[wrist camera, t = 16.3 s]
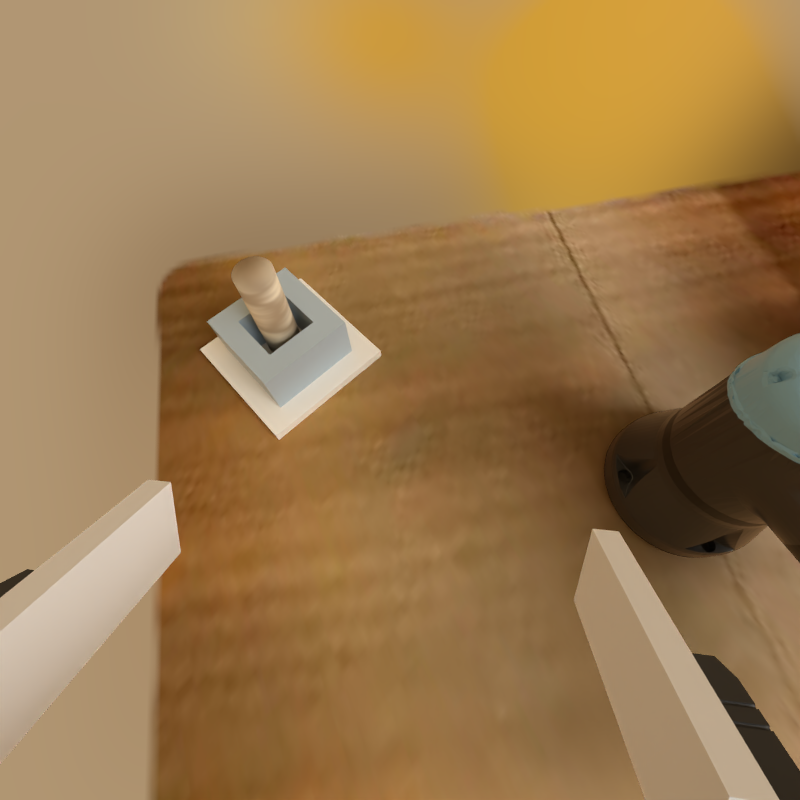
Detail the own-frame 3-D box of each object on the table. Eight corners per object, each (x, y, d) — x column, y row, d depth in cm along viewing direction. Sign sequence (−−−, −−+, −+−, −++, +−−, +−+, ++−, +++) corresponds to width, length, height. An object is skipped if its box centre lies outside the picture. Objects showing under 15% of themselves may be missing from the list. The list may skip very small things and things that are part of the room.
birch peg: (292, 331, 55) (257, 249, 42) (312, 350, 53) (282, 272, 41) (266, 350, 53) (222, 272, 41) (286, 370, 52) (247, 296, 40)
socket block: (302, 283, 59) (289, 244, 53) (381, 355, 54) (376, 322, 48) (204, 354, 55) (175, 321, 48) (279, 439, 50) (259, 415, 43)
